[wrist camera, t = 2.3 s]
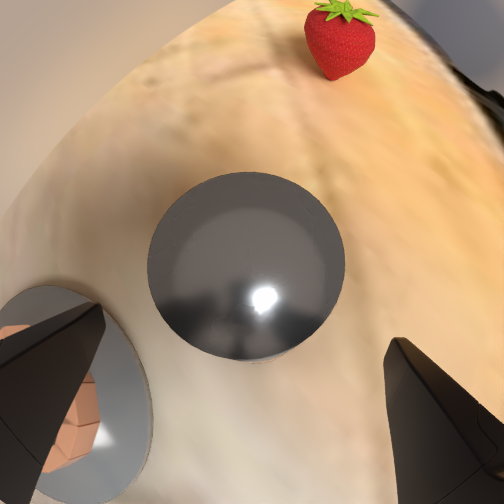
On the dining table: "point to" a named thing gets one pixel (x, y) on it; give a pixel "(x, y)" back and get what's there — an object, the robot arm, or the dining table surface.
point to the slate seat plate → (113, 401)
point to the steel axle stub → (246, 266)
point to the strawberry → (339, 37)
